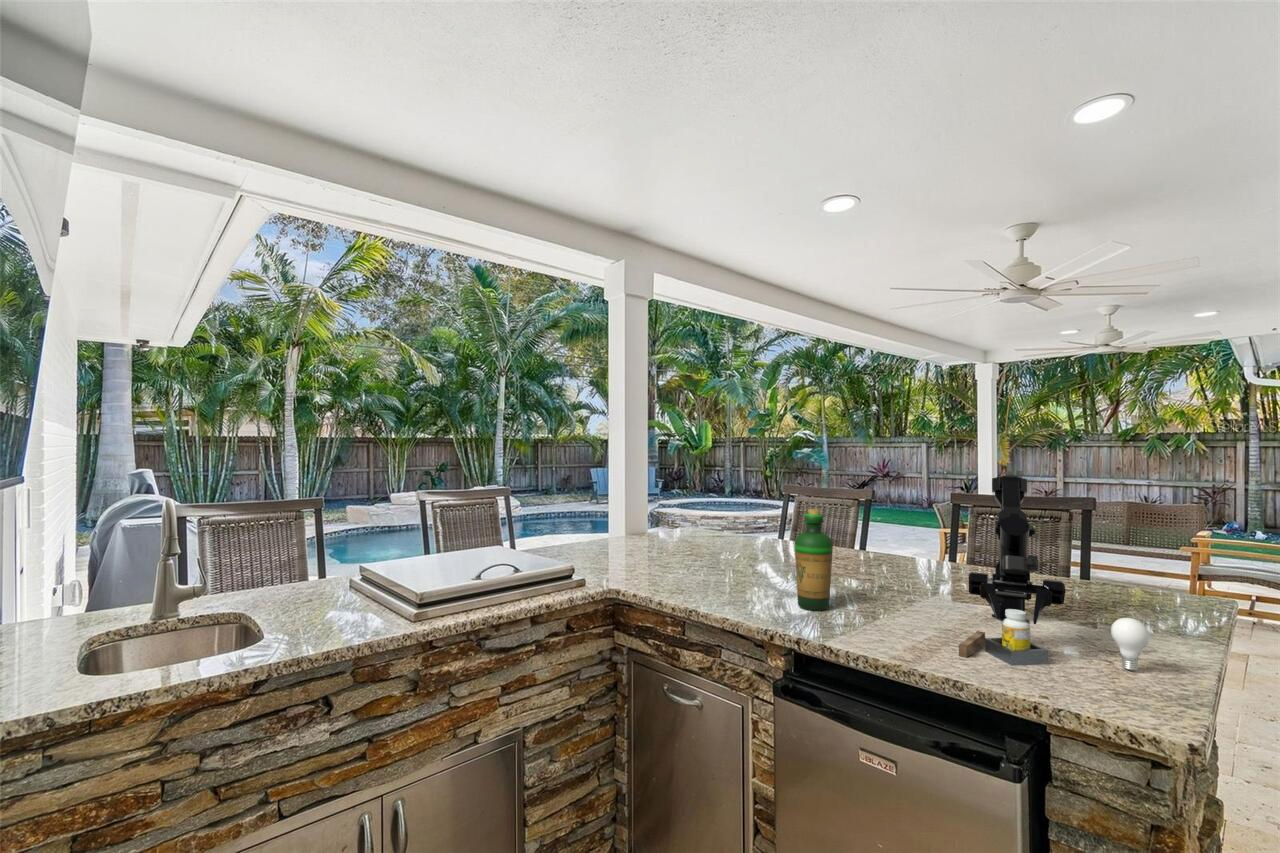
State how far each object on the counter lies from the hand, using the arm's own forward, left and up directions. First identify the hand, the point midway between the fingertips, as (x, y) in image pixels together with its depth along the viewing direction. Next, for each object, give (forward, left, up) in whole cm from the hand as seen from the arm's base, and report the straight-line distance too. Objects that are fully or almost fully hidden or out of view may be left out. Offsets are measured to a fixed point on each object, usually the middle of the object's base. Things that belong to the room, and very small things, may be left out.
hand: (1016, 620), depth 135 cm
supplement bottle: (-1, -1, -8) cm, 8 cm away
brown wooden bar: (+6, -7, -8) cm, 12 cm away
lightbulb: (-20, +8, -9) cm, 23 cm away
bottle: (+29, -43, -9) cm, 53 cm away
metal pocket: (-1, -1, -8) cm, 9 cm away
